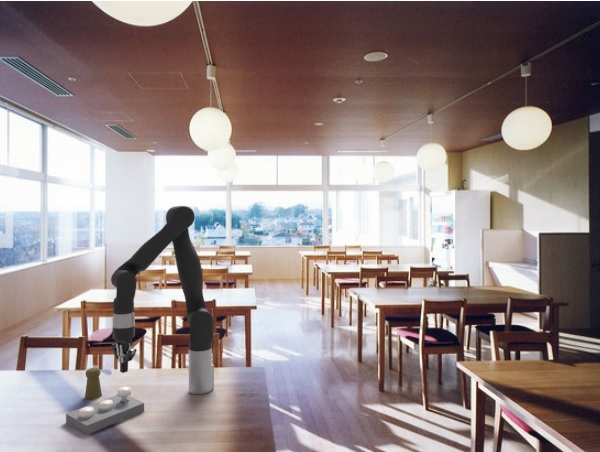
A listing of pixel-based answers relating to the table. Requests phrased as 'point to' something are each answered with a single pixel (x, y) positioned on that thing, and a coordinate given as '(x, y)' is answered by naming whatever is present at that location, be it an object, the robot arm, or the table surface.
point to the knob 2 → (124, 393)
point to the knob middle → (105, 405)
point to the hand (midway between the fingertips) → (123, 371)
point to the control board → (105, 414)
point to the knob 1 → (86, 412)
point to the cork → (93, 384)
